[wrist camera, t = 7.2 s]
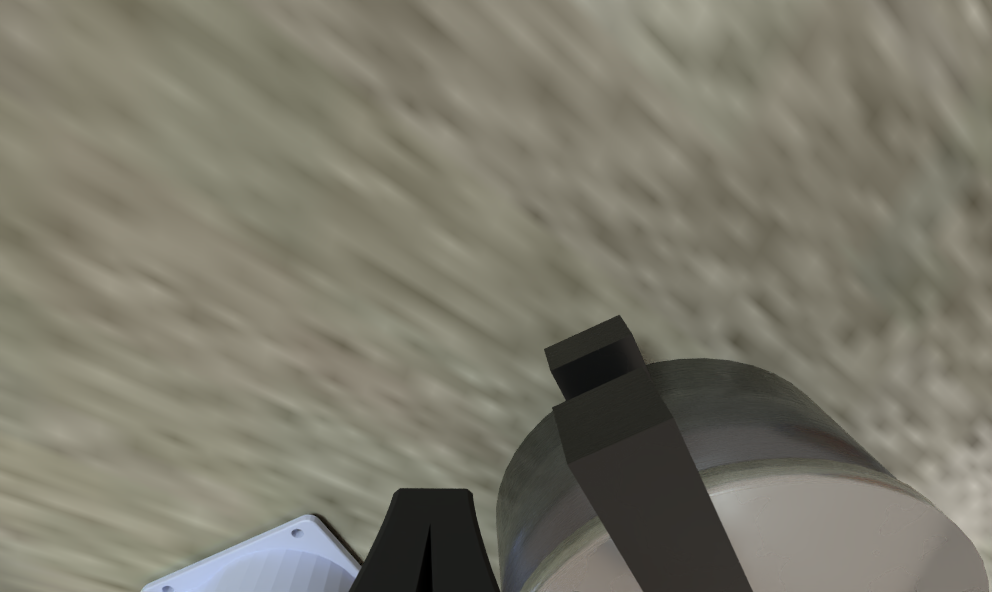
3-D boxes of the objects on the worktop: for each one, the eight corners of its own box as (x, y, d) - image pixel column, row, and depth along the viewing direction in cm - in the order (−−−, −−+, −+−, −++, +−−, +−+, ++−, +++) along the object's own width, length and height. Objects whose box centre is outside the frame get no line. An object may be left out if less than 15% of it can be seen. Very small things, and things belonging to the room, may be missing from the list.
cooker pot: (575, 657, 28) (603, 799, 22) (369, 365, 20) (334, 476, 14) (863, 550, 26) (972, 679, 20) (763, 178, 18) (897, 224, 12)
